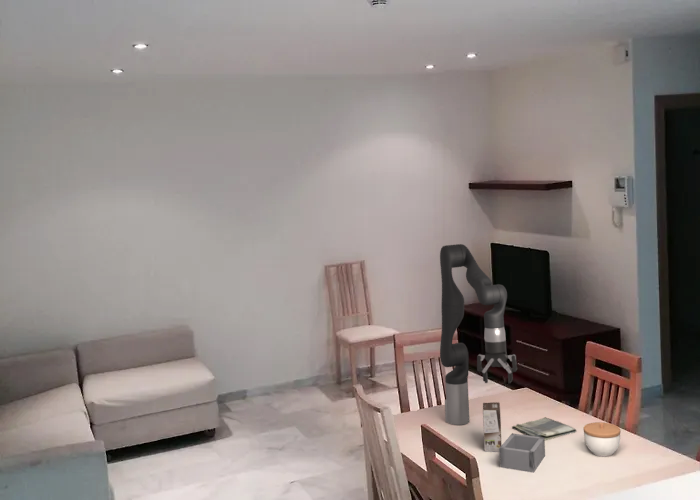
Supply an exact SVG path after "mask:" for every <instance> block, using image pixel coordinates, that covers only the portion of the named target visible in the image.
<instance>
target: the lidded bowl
mask: <svg viewBox="0 0 700 500" xmlns="http://www.w3.org/2000/svg"><path fill="white" fill-rule="evenodd" d="M583 436H584V437H583V438H584V441H585V442H584V443H585V444H586V447H587V448H588V449H589V450H590V452H591V453H592V454H593V455H595V456H599V457H611V456H613V455H614V453H615V452H616V451H617V450H618V448H619V447H620V442H621V428H620V427H619V426H618V425H616V424H613V423H609V422H601V421H599V422H590V423H587V424H585V425H584V426H583Z"/></svg>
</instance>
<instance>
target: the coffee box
mask: <svg viewBox="0 0 700 500" xmlns="http://www.w3.org/2000/svg"><path fill="white" fill-rule="evenodd" d="M501 418H502V417H501V406H500V402H499V401H498V402H496V401H495V402H483V403H482V421H483V424H482V425H483V443H484V444H483V445H484V452H493V453H494V452H495V453H496V452H498V453H499V448H500V447H501V446H502V421H501V420H502V419H501Z"/></svg>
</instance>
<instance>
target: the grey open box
mask: <svg viewBox="0 0 700 500" xmlns="http://www.w3.org/2000/svg"><path fill="white" fill-rule="evenodd" d="M545 441H546V440H545V438H544V437H536V436H529V435H526V434H522V433H521V434H519V433H513V432H512V433H511V434H509V436H508V437H507V439H505V441H504V442H503V443H501V447H500V448H499V452H498V454H499V468H503V469H509V470H516V471H521V472H527V473H536V470H537V469H538V467H539V466H540V464H541V463H542V462H543V460H544V459H545V457H546V445H545Z"/></svg>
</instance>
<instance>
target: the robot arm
mask: <svg viewBox="0 0 700 500" xmlns="http://www.w3.org/2000/svg"><path fill="white" fill-rule="evenodd" d="M439 263H440V275H441V336H440V344H439V345H440V348H439V358H440V362H441V365H442V366H443V367H444V368H451V367H454V368H453V369H452V370H450V372H449V371H448V373H446V374H445V378H444V379H445V380H444V381H445V398H446V399H444V414H445V415H444V416H445V423H448V424H450V425H454V426H461V425H463V426H464V425H467V424H468V423H470V420H471V419H470V404H469V403H470V402H469V401H470V400H469V381H468V380H469V379H468V377H469V350H468V347H467V346H466V344H465V343H464V342H456V343H453V338H454V335H455V333H456V331H457V329H458V327H459V326H460V324H461V323H462V320H463V319H464V316H465V298H464V295H463V293H462V292H461V290H460V288H459V287H458V286H457V284H456V282H455V280H454V277H453V272H452V271H453V269H454V268H455V269H456V268H462V267H463V268H466V272H465V277H466V281H467V283H468V285H470V286H471V288H473V289H474V291H475V294H476V297H477V299H478V302H479V303H480V304H481V305H483V306H491V305H492V306H493V307H492V308H491V309H490V310H487V311H485V312H484V315H483V322H484V337H483V338H484V344H485V345H484V349H485V354H481V353H479V354H478V355H477V356H476V370H477V372H481V373H482V380H483V382H484V384H488V383H489V382H488V381H489V380H488V379H489V377H488V369H489V368H490V367H492V368H496V367H498V368H503V369H504V370H506V372H507V382H508V384H511V383H512V382H513V380H514V375H513V373H516V372H517V371H518V363H517V355H516V354H515V353H513V354H509V355H508V353H507V341H506V340H507V339H506V330H505V320H504V319H505V318H504V315H505V310H506V304H507V299H508V292H507V289H506V287H505V286H504V285H503V284H499V283H497V284H492V282H493V281H492V280H491V278H490V277H489V276H488V275H487V274H486V273H485V272H484V271H483V270H482V269H481V267H480V266H479V264H478V263H477V261H476V259H475V258H474V256H473V254H472V253H471V251H470V249H469V248H468V247H467V246H466V245H465V244H462V243H459V244H457V243H456V244H448V245H443V246H442V247H441V249H440V251H439ZM508 359H509V361H510V362H511V365H512V367H511V366H510V365H509V363H508V362H507V361H508ZM484 360H485V361H486V362H487V364H486V365H485V367H482V364H483V363H482V361H484Z"/></svg>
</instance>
